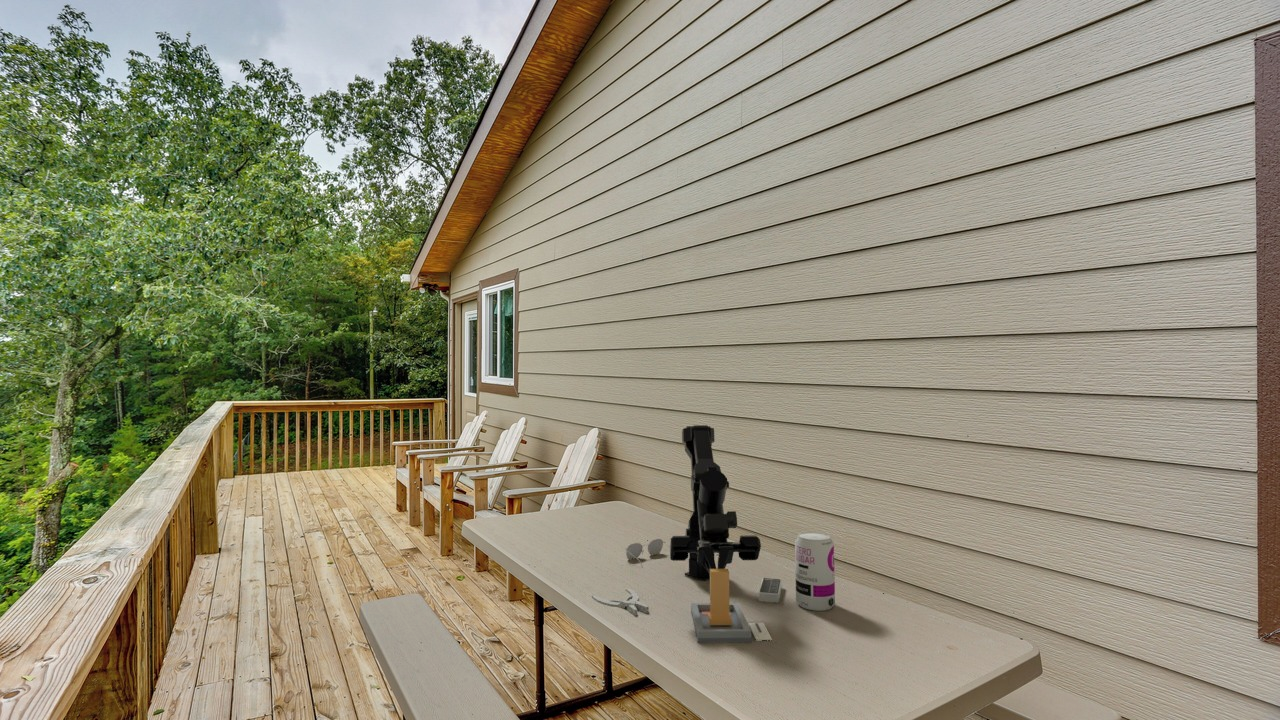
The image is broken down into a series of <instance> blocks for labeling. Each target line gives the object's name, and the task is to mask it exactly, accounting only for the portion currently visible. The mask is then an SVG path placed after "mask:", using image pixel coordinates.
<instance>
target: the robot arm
mask: <svg viewBox="0 0 1280 720" xmlns="http://www.w3.org/2000/svg"><path fill="white" fill-rule="evenodd" d="M681 442H682V444H684V452H685V453H686V455H687V456H688V458H689V459H690V465H691V475H690V490H691V491H692V508H693V509H692V514H691V516H690V518H689V519H688V522H687V528H685V535H672V536H671V538H670V544H669V546H670V547H669V554H670V555H669V556H670V557H669V558H670V560H671V561H675V562H677V561H679V562H680V561H684V562H685V561H686V560H687V559H688V571H687V572H684V576H685V577H689V578H693V579H696V580H701V581H708V580H710V569H726V567H727V565H729V564H732V561H733V557H734V553H737V554H738V558H740V559H741V560H742V561H756V560H759V556H760V551H761V549H762V548H761V547H762V544H761V538H759V537H758V535H751V534H750V535H746V534H745V535H740V536H739V541H728V539H729V537H730V533H729V530H730V529H736V528H737V526H738V518H737V517H738V516H737V511H735V510H734V511H733V510H728V511H726V513H725V512H724V502H725V499H726V493H727V490H728V488H730V482H729V481H728V478H727V477H726V474H724V473H723V472H722V471H721V466H720V465H719V464H717V463H716V462H715V461H714V455H713V448H712V444H713V443H714V442H715V428H714V427H711V426H710V425H707V424H706V425H705V424H702V425H701V424H700V425H699V424H696V425H695V424H694V425H687V426H686V427H684V428H682V430H681ZM715 554H718V558H717V566H716V561H715Z"/></svg>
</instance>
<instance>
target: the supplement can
mask: <svg viewBox="0 0 1280 720" xmlns="http://www.w3.org/2000/svg"><path fill="white" fill-rule="evenodd" d="M794 551H795V552H794V558H795V559H794V564H795V566H794V567H795V601H796V603H797V604H798V605H799V606H800V607H801V608H803V609H806V610H809V611H815V612H824V611H829V610H831V609H832V608H833V607H834V606H835V605H836V587H835V586H836V585H835V583H836V582H835V580H836V579H835V578H836V577H835V576H836V575H835V542H834V541H833V540H832V537H831V535H829V534H827V533H822V532H813V531H811V532H810V531H809V532H805V531H804V532H800V533H798V534H797V538H796V539H795V540H794Z"/></svg>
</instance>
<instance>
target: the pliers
mask: <svg viewBox="0 0 1280 720" xmlns="http://www.w3.org/2000/svg"><path fill="white" fill-rule="evenodd" d="M625 591H626V592H628V593H629V594H630V595H628V596H627V597H626V598H625V599H624V600H618V599H617V600H616V599H603V598H601V597H599V596H597V595H595V594H592V595H591V597H592V599H593V601H596V602H597V603H600V604H603V605H607V606H611V607H619V608H623V609H625V608H626V610H627V611H628V612H629V613H631V614H632V615H633V616H638V611H640V612H643V613H646V614H648V613H649V605H646V604H645V603H643V602H641V601H639V595H638V593H636V591H634V590H633V589H630V588H625Z"/></svg>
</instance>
